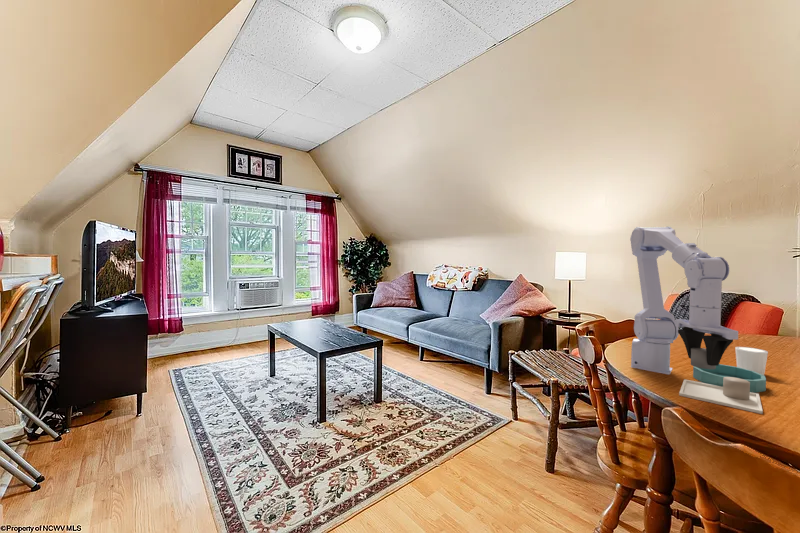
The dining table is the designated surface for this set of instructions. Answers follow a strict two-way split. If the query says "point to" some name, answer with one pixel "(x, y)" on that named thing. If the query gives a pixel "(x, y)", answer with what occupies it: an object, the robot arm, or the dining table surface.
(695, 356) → the charcoal stone
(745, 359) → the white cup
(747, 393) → the brown stone
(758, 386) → the bowl
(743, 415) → the dining table surface
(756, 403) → the parts tray
